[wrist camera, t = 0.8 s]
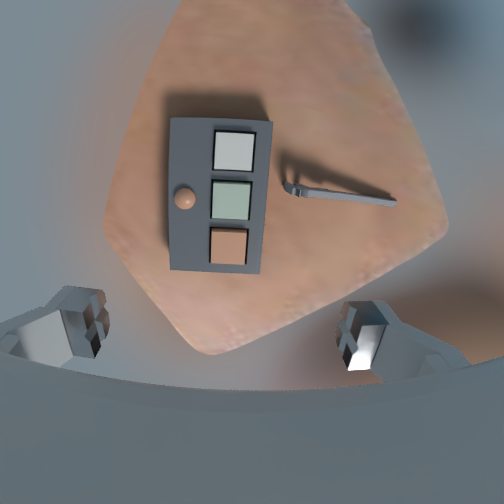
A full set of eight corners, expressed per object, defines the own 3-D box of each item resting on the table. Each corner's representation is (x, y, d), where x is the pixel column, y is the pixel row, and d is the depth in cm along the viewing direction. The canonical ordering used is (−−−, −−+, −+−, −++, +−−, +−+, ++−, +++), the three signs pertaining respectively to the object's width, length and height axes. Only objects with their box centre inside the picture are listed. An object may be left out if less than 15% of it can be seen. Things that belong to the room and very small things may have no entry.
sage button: (215, 179, 43) (213, 183, 40) (249, 181, 44) (250, 185, 41) (213, 212, 45) (212, 218, 42) (246, 213, 45) (247, 219, 43)
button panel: (176, 118, 41) (169, 117, 37) (270, 122, 42) (273, 121, 38) (174, 259, 50) (169, 271, 46) (257, 263, 51) (259, 276, 47)
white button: (217, 132, 40) (216, 132, 38) (252, 134, 41) (254, 134, 38) (215, 166, 42) (214, 168, 40) (250, 167, 43) (251, 170, 40)
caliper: (282, 187, 46) (288, 196, 41) (283, 180, 46) (290, 188, 40) (394, 205, 48) (412, 216, 43) (396, 200, 48) (414, 210, 42)
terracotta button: (213, 224, 46) (211, 231, 43) (246, 226, 46) (246, 233, 44) (212, 254, 48) (210, 263, 45) (243, 256, 48) (244, 264, 45)
